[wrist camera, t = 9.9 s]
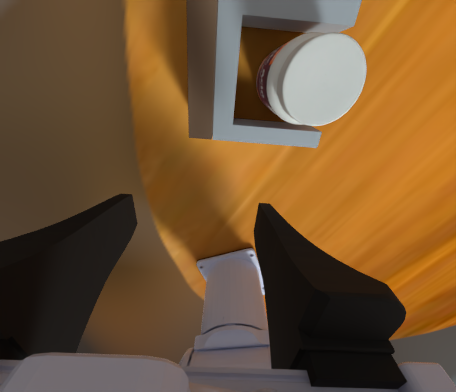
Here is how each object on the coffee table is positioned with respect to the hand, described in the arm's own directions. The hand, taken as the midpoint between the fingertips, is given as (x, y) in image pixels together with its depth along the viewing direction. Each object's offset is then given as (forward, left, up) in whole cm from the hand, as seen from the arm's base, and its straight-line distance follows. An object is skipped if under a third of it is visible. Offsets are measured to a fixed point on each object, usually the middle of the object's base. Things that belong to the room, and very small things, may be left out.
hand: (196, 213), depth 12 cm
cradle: (+5, -7, -10) cm, 13 cm away
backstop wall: (+7, -3, -10) cm, 12 cm away
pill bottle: (+4, -8, -10) cm, 14 cm away
